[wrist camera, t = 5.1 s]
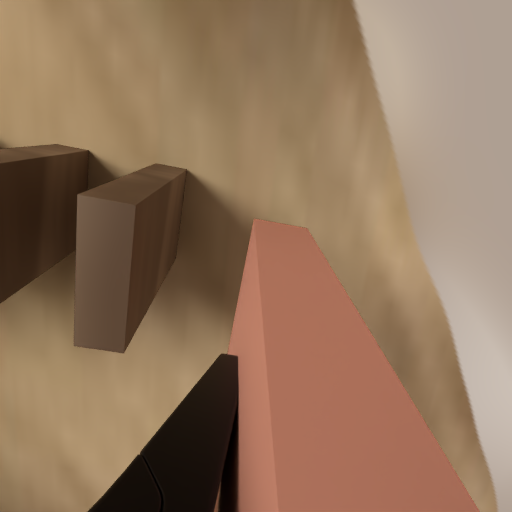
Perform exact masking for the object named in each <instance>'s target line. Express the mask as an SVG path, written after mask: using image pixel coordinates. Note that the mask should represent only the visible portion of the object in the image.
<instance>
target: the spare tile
mask: <svg viewBox="0 0 512 512" xmlns="http://www.w3.org/2000/svg"><path fill="white" fill-rule="evenodd" d="M227 354H230V355H236V356H238V379H239V398H238V405H237V409H236V414H235V418H234V423H233V427H232V432H231V436H230V441H229V446H228V450H227V455H226V459H225V464H224V468H223V473H222V477H221V482H220V486H219V491H218V495H217V500H216V505H215V509H214V512H480V511H479V510H478V508H477V506H476V505H475V503H474V501H473V500H472V498H471V496H470V495H469V493H468V492H467V490H466V488H465V487H464V485H463V483H462V482H461V480H460V478H459V477H458V475H457V473H456V472H455V470H454V469H453V467H452V465H451V464H450V462H449V460H448V459H447V457H446V455H445V454H444V452H443V450H442V449H441V447H440V446H439V444H438V442H437V441H436V439H435V437H434V436H433V434H432V432H431V431H430V429H429V428H428V426H427V424H426V423H425V421H424V419H423V418H422V416H421V414H420V413H419V411H418V409H417V408H416V406H415V405H414V403H413V401H412V400H411V398H410V396H409V395H408V393H407V391H406V390H405V388H404V386H403V385H402V383H401V382H400V380H399V378H398V377H397V375H396V373H395V372H394V370H393V368H392V367H391V365H390V363H389V362H388V360H387V359H386V357H385V355H384V354H383V352H382V350H381V349H380V347H379V345H378V344H377V342H376V340H375V339H374V337H373V336H372V334H371V332H370V331H369V329H368V327H367V326H366V324H365V322H364V321H363V319H362V317H361V316H360V314H359V313H358V311H357V309H356V308H355V306H354V304H353V303H352V301H351V299H350V298H349V296H348V294H347V293H346V291H345V290H344V288H343V286H342V285H341V283H340V281H339V280H338V278H337V276H336V275H335V273H334V271H333V270H332V268H331V267H330V265H329V263H328V262H327V260H326V258H325V257H324V255H323V253H322V252H321V250H320V248H319V247H318V245H317V244H316V242H315V240H314V239H313V237H312V235H311V234H310V232H309V230H308V229H307V228H303V227H297V226H292V225H286V224H281V223H276V222H270V221H265V220H259V219H254V221H253V226H252V231H251V236H250V241H249V246H248V251H247V256H246V262H245V267H244V272H243V277H242V282H241V287H240V292H239V297H238V302H237V307H236V312H235V317H234V323H233V328H232V333H231V338H230V343H229V348H228V353H227Z"/></svg>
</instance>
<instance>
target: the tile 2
mask: <svg viewBox="0 0 512 512" xmlns="http://www.w3.org/2000/svg"><path fill="white" fill-rule="evenodd" d="M88 157H89V150H84V149H79V148H73V147H68V146H63V145H58V144H53V145H41V146H30V147H18V148H7V149H0V303H1V302H3V301H4V300H6V299H7V298H8V297H10V296H11V295H13V294H14V293H16V292H17V291H18V290H20V289H21V288H23V287H24V286H25V285H27V284H28V283H30V282H31V281H32V280H34V279H35V278H37V277H38V276H39V275H41V274H42V273H44V272H45V271H46V270H48V269H49V268H51V267H52V266H53V265H55V264H56V263H58V262H59V261H61V260H62V259H63V258H65V257H66V256H68V255H69V254H70V253H72V252H73V251H75V250H76V232H77V194H80V193H82V192H85V191H87V188H88Z"/></svg>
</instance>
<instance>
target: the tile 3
mask: <svg viewBox="0 0 512 512" xmlns="http://www.w3.org/2000/svg"><path fill="white" fill-rule="evenodd" d="M186 173H187V169H182V168H177V167H172V166H167V165H162V164H153V165H151V166H148V167H146V168H143V169H141V170H138V171H136V172H133V173H131V174H128V175H125V176H123V177H120V178H118V179H115V180H113V181H110V182H108V183H105V184H103V185H100V186H98V187H95V188H93V189H90V190H87V191H85V192H82V193H80V194H77V232H76V274H75V317H74V346H78V347H85V348H92V349H98V350H105V351H112V352H119V353H124V352H125V350H126V348H127V347H128V345H129V343H130V341H131V339H132V337H133V336H134V334H135V332H136V330H137V328H138V326H139V325H140V323H141V321H142V319H143V317H144V315H145V314H146V312H147V310H148V308H149V306H150V304H151V303H152V301H153V299H154V297H155V295H156V293H157V292H158V290H159V288H160V286H161V284H162V282H163V281H164V279H165V277H166V275H167V273H168V271H169V270H170V268H171V266H172V264H173V262H174V260H175V259H176V253H177V245H178V237H179V229H180V221H181V213H182V205H183V197H184V189H185V181H186Z"/></svg>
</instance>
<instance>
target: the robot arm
mask: <svg viewBox="0 0 512 512" xmlns="http://www.w3.org/2000/svg"><path fill="white" fill-rule="evenodd" d="M238 398H239V379H238V356H236V355H230V354H221V355H220V356H219V357H218V358H217V359H216V360H215V362H214V363H213V364H212V365H211V367H210V368H209V369H208V370H207V371H206V373H205V374H204V375H203V376H202V377H201V379H200V380H199V381H198V382H197V384H196V385H195V386H194V387H193V388H192V390H191V391H190V392H189V393H188V395H187V396H186V397H185V398H184V399H183V401H182V402H181V403H180V404H179V405H178V407H177V408H176V409H175V410H174V412H173V413H172V414H171V415H170V416H169V418H168V419H167V420H166V421H165V423H164V424H163V425H162V426H161V427H160V429H159V430H158V431H157V432H156V434H155V435H154V436H153V437H152V438H151V440H150V441H149V442H148V443H147V444H146V446H145V447H144V448H143V449H142V451H141V452H140V455H137V456H136V458H135V459H134V460H133V461H132V462H131V464H130V465H129V466H128V467H127V469H126V470H125V471H124V472H123V473H122V474H121V476H120V477H119V478H118V479H117V480H116V481H115V482H114V484H113V485H112V486H111V487H110V488H109V489H108V490H107V492H106V493H105V494H104V495H103V496H102V497H101V498H100V499H99V500H98V501H97V502H96V503H95V504H94V505H93V506H92V507H91V508H90V509H89V511H88V512H214V509H215V505H216V500H217V495H218V491H219V486H220V482H221V477H222V473H223V468H224V464H225V459H226V455H227V450H228V446H229V441H230V436H231V432H232V427H233V423H234V418H235V414H236V409H237V405H238Z"/></svg>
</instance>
